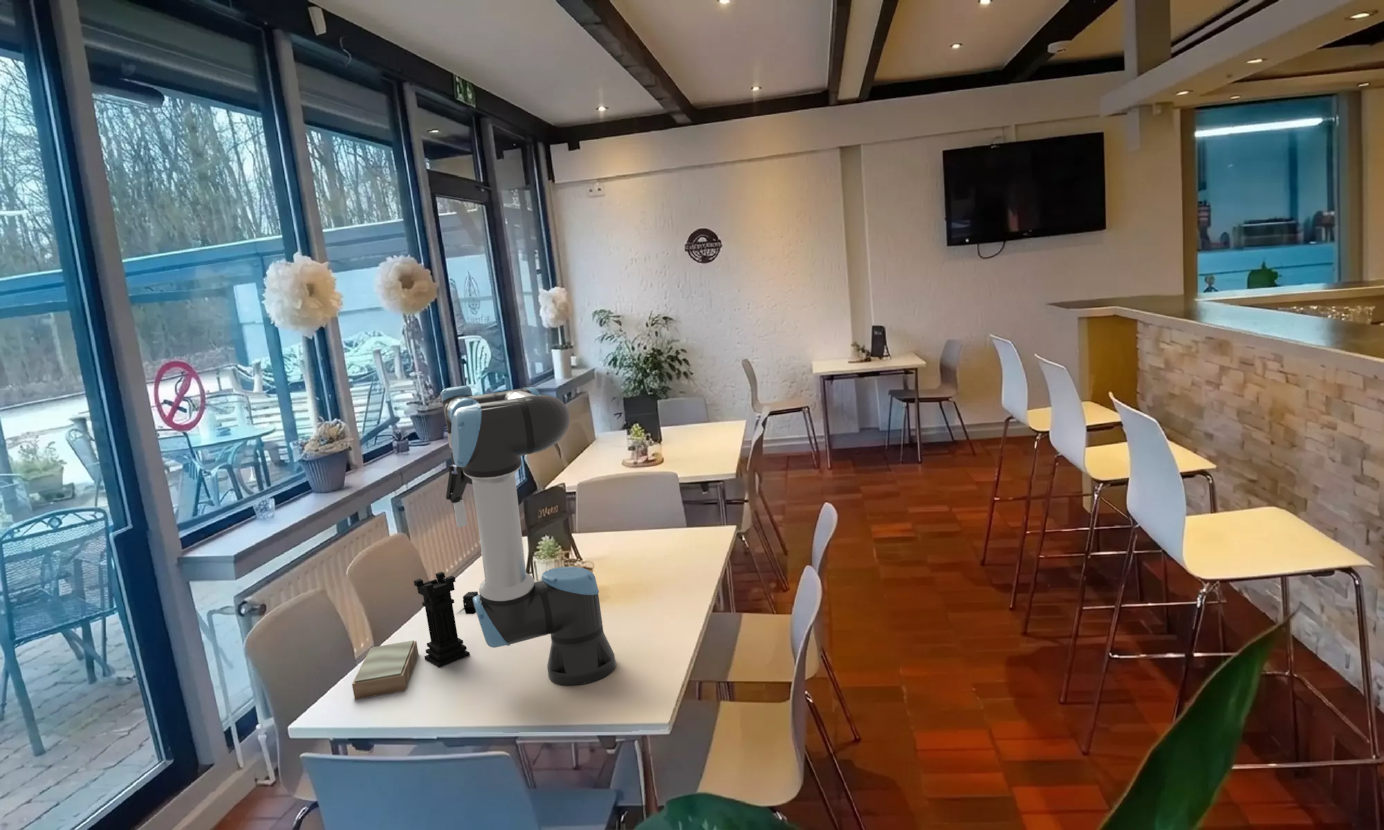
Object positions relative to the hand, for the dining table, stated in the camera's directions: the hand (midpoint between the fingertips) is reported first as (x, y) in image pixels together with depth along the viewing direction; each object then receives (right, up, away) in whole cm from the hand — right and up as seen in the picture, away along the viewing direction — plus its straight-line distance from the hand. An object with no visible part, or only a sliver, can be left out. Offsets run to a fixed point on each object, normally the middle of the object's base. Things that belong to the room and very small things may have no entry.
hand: (478, 528), depth 221 cm
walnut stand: (-16, -32, -19) cm, 41 cm away
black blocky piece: (-7, -26, +21) cm, 34 cm away
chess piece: (-4, -30, -12) cm, 33 cm away
